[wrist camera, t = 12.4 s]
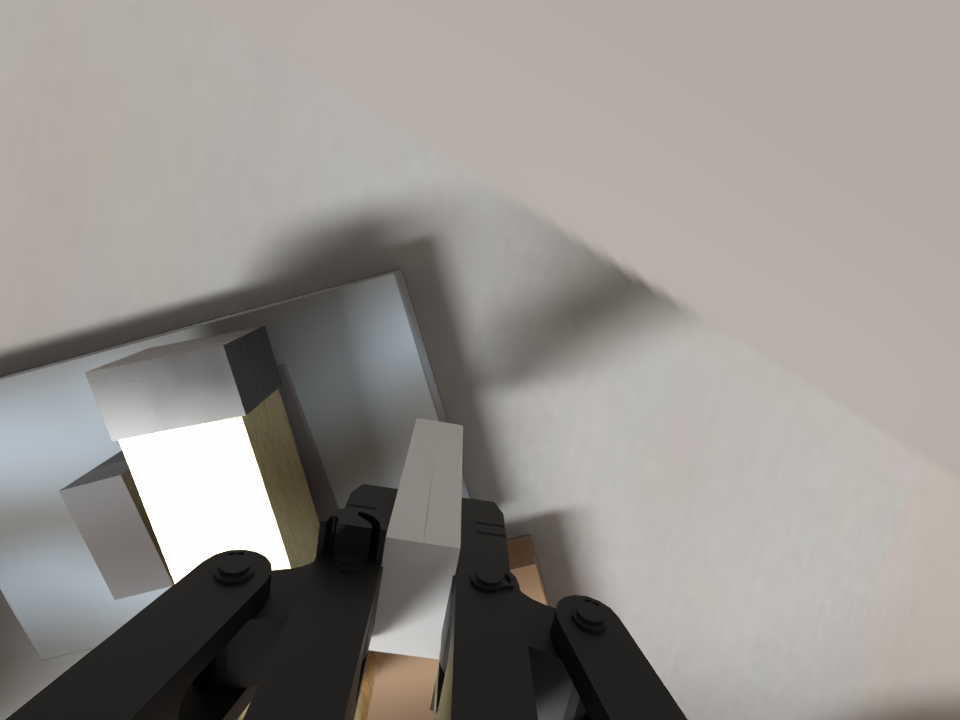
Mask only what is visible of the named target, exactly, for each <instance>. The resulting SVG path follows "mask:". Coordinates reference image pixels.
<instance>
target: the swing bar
mask: <svg viewBox="0 0 960 720" xmlns="http://www.w3.org/2000/svg"><path fill="white" fill-rule="evenodd" d="M85 374H86V377H87V380H88V382H89V385H90V387H91V390H92V392H93V395H94V397H95V400H96V402H97V405H98V407H99V410H100V412H101V415H102V417H103V420H104V422H105V425H106V428H107V430H108V433H109V435H110V438H111V440H112V441H117V440H119V442H120V445H121V448H122V450H123V453H124V455H125V458H126V460H127V463H128V465H129V468H130V470H131V473H132V476H133V478H134V481H135V483H136V486H137V488H138V491H139V493H140V496H141V498H142V501H143V504H144V506H145V509H146V511H147V514H148V516H149V519H150V521H151V524H152V527H153V529H154V532H155V534H156V537H157V539H158V542H159V544H160V547H161V549H162V552H163V555H164V557H165V560H166V562H167V565H168V567H169V570H170V572H171V575H172V577H173V580H174V583H176V582H178V581H179V580H180V579H181V578H183V577H184V576H185V575H186V574H188V573H189V572H190V571H191V570H193V569H194V568H195V567H196V566H198V565H199V564H200V563H201V562H203V561H204V560H206V559H207V558H209V557H211V556H213V555H214V554H217V553H221V552H224V551H228V550H239V549H245V550H251V551H256V552H258V553H260V554H262V555H264V556H266V557H267V558H268V560H269V561H270V562H271V564H272V570H280V569H291V568H297V567H301V566H304V565H307V564H310V563H312V562H314V560H315V558H316V551H317V543H318V535H319V526H320V524H319V521H318V517H317V514H316V511H315V508H314V504H313V501H312V498H311V494H310V491H309V488H308V484H307V481H306V478H305V475H304V471H303V468H302V465H301V461H300V458H299V455H298V452H297V448H296V445H295V442H294V438H293V435H292V432H291V428H290V425H289V422H288V419H287V415H286V412H285V409H284V405H283V402H282V399H281V395H280V392H279V389H278V388H279V387H280V386H282V385H283V384H282V381H281V378H280V374H279V371H278V368H277V364H276V361H275V358H274V354H273V351H272V348H271V344H270V341H269V338H268V334H267V331H266V328H265V325H263V326H258V327H253V328H248V329H243V330H238V331H233V332H228V333H223V334H218V335H213V336H208V337H203V338H197V339H192V340H187V341H182V342H177V343H172V344H167V345H162V346H157V347H152V348H148V349H145V350H143V351H140V352H137V353H135V354H132V355H129V356H127V357H124V358H122V359H119V360H116V361H114V362H111V363H108V364H106V365H103V366H101V367H98V368H95V369H93V370H90V371H87V372H85ZM376 674H377V658H376V654H375V651H370V650H368V655H367V661H366V667H365V673H364V678H363V682H362V686H361V691H360V695H359V700H358V704H357V709H356V713H355V717H354V720H367V717H368V712H369V707H370V702H371V698H372V693H373V688H374V683H375V678H376ZM249 705H250V703H249ZM249 705H248V706H247V707H246V709H245V710H244V711H243V713H242V714H241V715H240V717H239V718H238V719H237V720H243V718H244V716H245V713H246V711H247V709H248V707H249Z"/></svg>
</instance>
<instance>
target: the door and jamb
mask: <svg viewBox="0 0 960 720" xmlns="http://www.w3.org/2000/svg"><path fill="white" fill-rule="evenodd" d="M263 325H265V328H266V331H267V334H268V338H269V341H270V344H271V348H272V351H273V354H274V358H275V361H276V364H277V368H278V371H279V374H280V378H281V381H282V384H283V385H282V386H280V387H279V388H278V389H279V392H280V395H281V399H282V402H283V405H284V409H285V412H286V415H287V419H288V422H289V425H290V428H291V432H292V435H293V438H294V442H295V445H296V448H297V452H298V455H299V458H300V461H301V465H302V468H303V471H304V475H305V478H306V481H307V484H308V488H309V491H310V494H311V498H312V501H313V504H314V508H315V511H316V514H317V517H318V521H319V524H320V520H321V519H322V518H323V517H324V516H325V515H326V514H328V513H330V512H332V511H334V510H337V509H342V508H345V506H346V503H347V501H348V498H349V496H350V494H351V492H352V491H354V490H355V489H356V488H358V487H359V486H361V485H362V484H368V485H375V486H381V487H388V488H394V489H398V488H399V484H400V480H401V477H402V473H403V469H404V465H405V461H406V457H407V454H408V450H409V446H410V442H411V438H412V434H413V431H414V427H415V423H416V419H417V418H421V419H427V420H433V421H439V422H446V423H447V420H446V417H445V413H444V410H443V407H442V403H441V400H440V397H439V393H438V390H437V386H436V383H435V380H434V376H433V373H432V370H431V366H430V363H429V360H428V356H427V353H426V350H425V346H424V343H423V340H422V336H421V333H420V329H419V326H418V323H417V319H416V316H415V313H414V309H413V306H412V303H411V299H410V296H409V293H408V289H407V286H406V282H405V279H404V276H403V272H402V269H398V270H394V271H391V272H387V273H383V274H380V275H376V276H372V277H369V278H365V279H361V280H358V281H354V282H350V283H346V284H343V285H339V286H335V287H332V288H328V289H324V290H321V291H317V292H313V293H309V294H306V295H302V296H298V297H295V298H291V299H287V300H284V301H280V302H276V303H273V304H269V305H265V306H261V307H258V308H254V309H250V310H247V311H243V312H239V313H236V314H232V315H228V316H224V317H221V318H217V319H213V320H210V321H206V322H202V323H199V324H195V325H191V326H188V327H184V328H180V329H176V330H173V331H169V332H165V333H162V334H158V335H154V336H151V337H147V338H143V339H140V340H136V341H132V342H128V343H125V344H121V345H117V346H114V347H110V348H106V349H103V350H99V351H95V352H91V353H88V354H84V355H80V356H77V357H73V358H69V359H66V360H62V361H58V362H55V363H51V364H47V365H43V366H40V367H36V368H32V369H29V370H25V371H21V372H18V373H14V374H10V375H7V376H3V377H0V589H1V591H2V593H3V595H4V596H5V598H6V600H7V602H8V603H9V605H10V607H11V609H12V610H13V612H14V614H15V616H16V617H17V619H18V621H19V623H20V624H21V626H22V628H23V630H24V631H25V633H26V635H27V637H28V638H29V640H30V642H31V644H32V645H33V647H34V649H35V650H36V652H37V654H38V656H39V657H40V659H41V661H42V660H46V659H50V658H54V657H58V656H62V655H66V654H70V653H74V652H79V651H83V650H87V649H91V648H95V647H97V646H98V645H99V644H100V643H102V642H103V641H104V640H105V639H107V638H108V637H109V636H110V635H112V634H113V633H114V632H115V631H117V630H118V629H119V628H120V627H122V626H123V625H124V624H125V623H127V622H128V621H129V620H130V619H132V618H133V617H134V616H135V615H137V614H138V613H139V612H140V611H142V610H143V609H144V608H145V607H147V606H148V605H149V604H150V603H152V602H153V601H154V600H155V599H157V598H158V597H159V596H160V595H161V594H163V593H164V592H165V591H166V590H168V589H169V588H170V587H171V586H173V585H174V584H175V583H174V580H173V577H172V575H171V572H170V570H169V567H168V565H167V562H166V560H165V557H164V555H163V552H162V549H161V547H160V544H159V542H158V539H157V537H156V534H155V532H154V529H153V527H152V524H151V521H150V519H149V516H148V514H147V511H146V509H145V506H144V504H143V501H142V498H141V496H140V493H139V491H138V488H137V486H136V483H135V481H134V478H133V476H132V473H131V470H130V468H129V465H128V463H127V460H126V458H125V455H124V453H123V450H122V448H121V445H120V442H119V440H117V441H112V440H111V438H110V435H109V433H108V430H107V428H106V425H105V422H104V420H103V417H102V415H101V412H100V410H99V407H98V405H97V402H96V400H95V397H94V395H93V392H92V390H91V387H90V385H89V382H88V380H87V377H86V374H85V372H87V371H90V370H93V369H95V368H98V367H101V366H103V365H106V364H108V363H111V362H114V361H116V360H119V359H122V358H124V357H127V356H129V355H132V354H135V353H137V352H140V351H143V350H145V349H148V348H152V347H157V346H162V345H167V344H172V343H177V342H182V341H187V340H192V339H197V338H203V337H208V336H213V335H218V334H223V333H228V332H233V331H238V330H243V329H248V328H253V327H258V326H263ZM462 498H469V499H470V497H469V494H468V490H467V487H466V484H465V480H464V477H463V474H462ZM506 541H507V550H508V558H509V566H510V572H511V573H512V574H513V575H514V576H515V577H516V578H517V581H518V583H519V585H520V591H521V592H522V593H524V594H525V595H527V596H528V597H530V598H531V599H533V600H536V601H538V602H540V603H542V604H545V605H548V606H549V603H548V600H547V596H546V592H545V589H544V585H543V581H542V578H541V574H540V570H539V567H538V563H537V559H536V556H535V552H534V548H533V544H532V541H531V537H530V535H525V536H521V537H517V538H513V539H509V540H506ZM440 650H441V649H440ZM375 654H376V658H377V674H376V678H375V683H374V688H373V693H372V698H371V702H370V707H369V712H368V717H367V720H433V711H431V710H430V706H431V701H432V696H433V691H434V686H435V681H436V676H437V671H438V666H439V661H440V654H439V659H431V658H423V657H416V656H408V655H401V654H393V653H386V652H378V651H375Z"/></svg>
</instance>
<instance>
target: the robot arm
mask: <svg viewBox="0 0 960 720" xmlns="http://www.w3.org/2000/svg"><path fill="white" fill-rule="evenodd" d="M462 458H463V425H458V424H452V423H446V422H439V421H433V420H427V419H421V418H417V419H416V423H415V427H414V431H413V434H412V438H411V442H410V446H409V450H408V454H407V457H406V461H405V465H404V469H403V473H402V477H401V480H400V484H399V488H398V489H394V488H388V487H381V486H375V485H368V484H362V485H361V486H359V487H358V488H356V489H355V490H354V491H352V492H351V494H350V496H349V498H348V501H347V503H346V506H345V508H342V509H337V510H334V511H332V512H330V513H328V514H326V515H325V516H324V517H323V518H322V519H321V520H320V526H319V535H318V543H317V551H316V558H315V560H314V562H312V563H310V564H307V565H304V566H301V567H297V568H291V569H280V570H272V564H271V562H270V561H269V560H268V558H267V557H266V556H264V555H262V554H260V553H258V552H256V551H251V550H245V549H239V550H228V551H224V552H221V553H217V554H214V555H213V556H211V557H209V558H207V559H206V560H204V561H203V562H201V563H200V564H199V565H198V566H196V567H195V568H194V569H193V570H191V571H190V572H189V573H188V574H186V575H185V576H184V577H183V578H181V579H180V580H179V581H178V582H176V583H175V584H174V585H173V586H171V587H170V588H169V589H168V590H166V591H165V592H164V593H163V594H161V595H160V596H159V597H158V598H157V599H155V600H154V601H153V602H152V603H150V604H149V605H148V606H147V607H145V608H144V609H143V610H142V611H140V612H139V613H138V614H137V615H135V616H134V617H133V618H132V619H130V620H129V621H128V622H127V623H125V624H124V625H123V626H122V627H120V628H119V629H118V630H117V631H115V632H114V633H113V634H112V635H110V636H109V637H108V638H107V639H105V640H104V641H103V642H102V643H100V644H99V645H98V646H97V647H95V648H94V649H93V650H92V651H91V652H89V653H88V654H87V655H86V656H84V657H83V658H82V659H81V660H79V661H78V662H77V663H76V664H74V665H73V666H72V667H71V668H69V669H68V670H67V671H66V672H64V673H63V674H62V675H61V676H59V677H58V678H57V679H56V680H54V681H53V682H52V683H51V684H49V685H48V686H47V687H46V688H44V689H43V690H42V691H41V692H39V693H38V694H37V695H36V696H34V697H33V698H32V699H31V700H29V701H28V702H27V703H26V704H25V705H23V706H22V707H21V708H20V709H18V710H17V711H16V712H15V713H13V714H12V715H11V716H10V717H8V718H7V719H6V720H237V719H238V718H239V717H240V715H241V714H242V713H243V711H244V710H245V709H246V707H247V706H248V705H249V703H250V705H249V707H248V709H247V711H246V713H245V716H244V718H243V720H354V717H355V713H356V709H357V704H358V700H359V695H360V691H361V686H362V682H363V678H364V673H365V667H366V661H367V655H368V650H370V651H378V652H386V653H393V654H401V655H408V656H416V657H423V658H431V659H439V654H440V661H439V666H438V671H437V676H436V681H435V686H434V691H433V696H432V701H431V706H430V710H431V711H433V720H687V718H686V717H685V715H684V714H683V712H682V711H681V709H680V708H679V706H678V705H677V703H676V702H675V700H674V699H673V697H672V696H671V694H670V693H669V691H668V690H667V689H666V687H665V686H664V684H663V683H662V681H661V680H660V678H659V677H658V675H657V674H656V672H655V671H654V669H653V668H652V666H651V665H650V663H649V662H648V660H647V659H646V657H645V656H644V654H643V653H642V651H641V650H640V648H639V647H638V645H637V644H636V642H635V641H634V639H633V638H632V636H631V635H630V633H629V632H628V630H627V629H626V628H625V626H624V625H623V623H622V622H621V620H620V619H619V617H618V616H617V615H616V614H615V613H614V612H613V611H612V610H611V608H609V607H608V606H606V605H604V604H603V603H601V602H600V601H598V600H595V599H592V598H590V597H587V596H578V595H573V596H568V597H564V598H563V599H562V600H560V601H559V602H558V604H557V607H556V609H555V608H553V607H550V606H548V605H545V604H542V603H540V602H538V601H536V600H533V599H531V598H530V597H528V596H527V595H525V594H524V593H522V592H521V591H520V585H519V583H518V581H517V578H516V577H515V576H514V575H513V574H512V573H511V572H510V566H509V558H508V550H507V541H506V533H505V528H504V527H505V525H504V516H503V513H502V512H501V510H500V509H499V508H498V506H497V505H496V504H495V503H494V502H488V501H482V500H475V499H469V498H462ZM440 649H441V650H440Z"/></svg>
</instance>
